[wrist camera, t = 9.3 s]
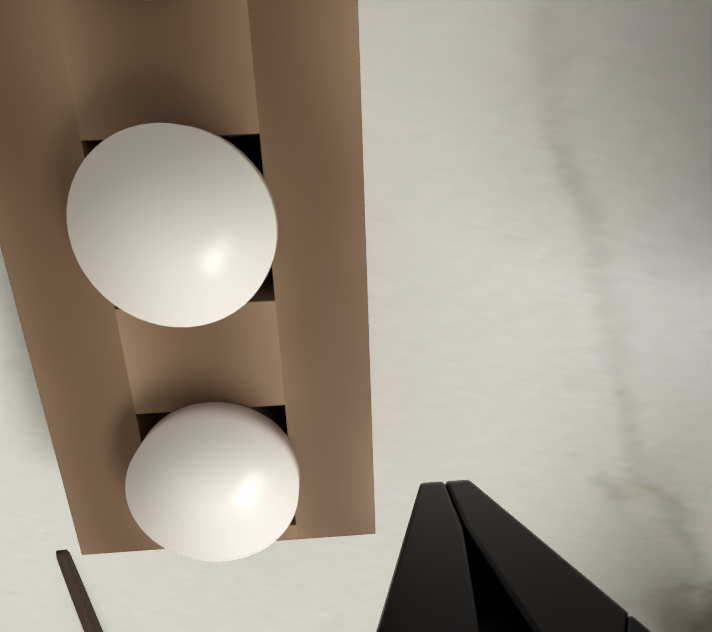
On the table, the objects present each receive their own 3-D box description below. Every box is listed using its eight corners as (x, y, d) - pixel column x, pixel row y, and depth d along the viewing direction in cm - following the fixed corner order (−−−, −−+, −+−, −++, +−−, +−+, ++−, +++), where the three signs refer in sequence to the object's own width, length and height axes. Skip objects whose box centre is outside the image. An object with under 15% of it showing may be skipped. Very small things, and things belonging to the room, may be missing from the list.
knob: (299, 353, 19) (291, 412, 15) (308, 471, 21) (304, 555, 16) (158, 361, 19) (110, 423, 15) (179, 479, 20) (141, 567, 16)
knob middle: (281, 126, 17) (265, 118, 12) (293, 280, 18) (283, 322, 14) (118, 132, 16) (44, 127, 12) (146, 288, 18) (90, 332, 14)
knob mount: (342, -187, 15) (347, -304, 11) (366, 465, 21) (375, 533, 18) (-18, -182, 14) (-144, -302, 10) (125, 481, 21) (82, 554, 17)
